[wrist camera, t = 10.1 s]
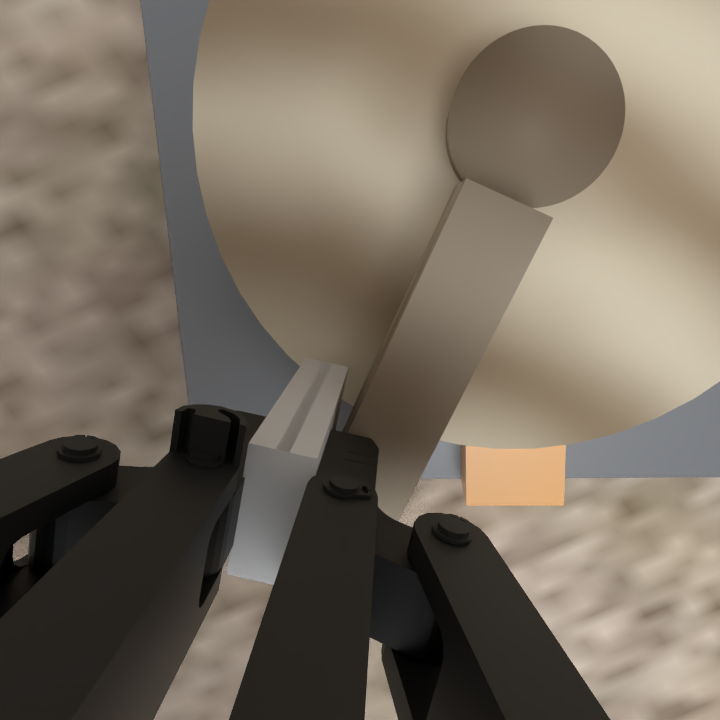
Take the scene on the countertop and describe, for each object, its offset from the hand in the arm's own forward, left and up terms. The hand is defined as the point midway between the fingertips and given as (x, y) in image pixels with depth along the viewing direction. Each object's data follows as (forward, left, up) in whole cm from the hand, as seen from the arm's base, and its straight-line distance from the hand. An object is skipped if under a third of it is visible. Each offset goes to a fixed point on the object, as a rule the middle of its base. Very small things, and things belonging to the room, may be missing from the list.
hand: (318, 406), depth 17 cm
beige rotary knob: (+5, +6, -3) cm, 8 cm away
